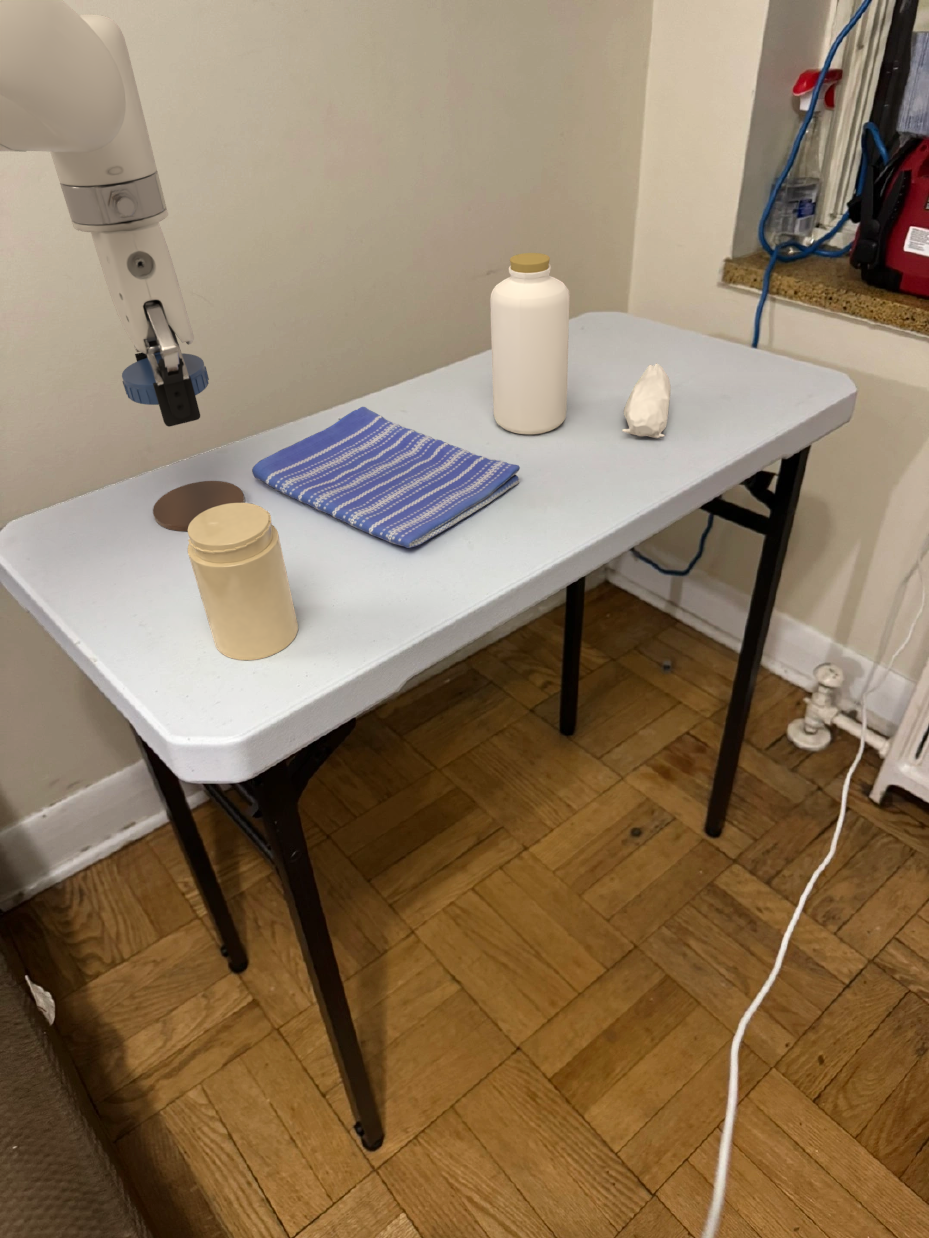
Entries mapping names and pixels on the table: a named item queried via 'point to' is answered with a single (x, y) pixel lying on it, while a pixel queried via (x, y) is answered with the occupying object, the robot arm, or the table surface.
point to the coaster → (193, 502)
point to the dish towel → (386, 478)
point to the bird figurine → (649, 404)
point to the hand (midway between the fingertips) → (172, 404)
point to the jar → (242, 580)
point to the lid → (142, 379)
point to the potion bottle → (530, 346)
